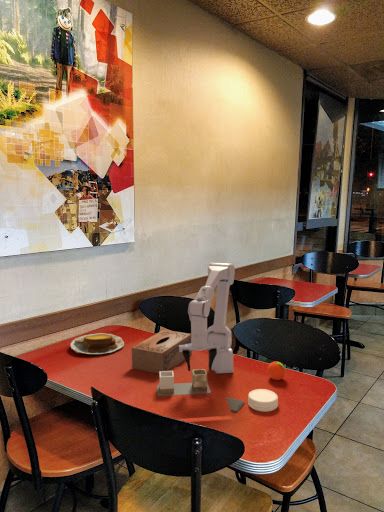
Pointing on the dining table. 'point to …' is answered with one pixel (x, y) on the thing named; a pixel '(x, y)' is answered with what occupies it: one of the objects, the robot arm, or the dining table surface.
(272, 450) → the dining table surface
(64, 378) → the dining table surface
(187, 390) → the pin board
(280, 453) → the dining table surface
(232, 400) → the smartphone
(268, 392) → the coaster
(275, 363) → the clementine
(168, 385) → the cream square cup
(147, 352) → the tissue box cover
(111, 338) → the food on plate
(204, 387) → the birch sleeve
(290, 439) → the dining table surface
